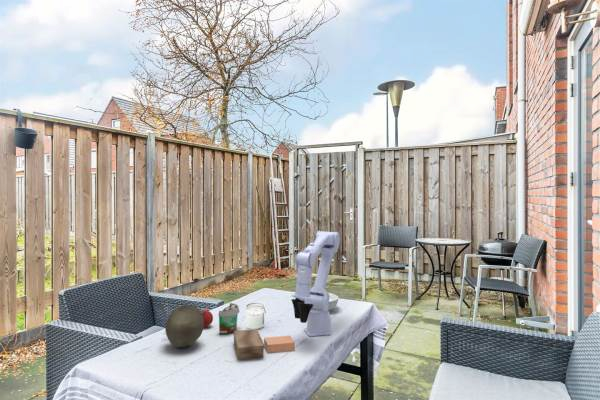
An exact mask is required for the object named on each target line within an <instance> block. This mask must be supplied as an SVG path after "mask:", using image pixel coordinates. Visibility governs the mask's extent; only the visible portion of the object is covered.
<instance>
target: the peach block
mask: <svg viewBox="0 0 600 400" xmlns="http://www.w3.org/2000/svg"><path fill="white" fill-rule="evenodd" d="M263 338H264V340H263V343H264V345H265V348H264V349H265V351H266V353H267V354H273V353H274V354H275V353H284V352H294V351H295V344H296V343H295V340H294V339H293V338H292V337H291V335H279V336H269V337H263Z"/></svg>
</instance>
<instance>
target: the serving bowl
mask: <svg viewBox="0 0 600 400" xmlns="http://www.w3.org/2000/svg"><path fill="white" fill-rule="evenodd" d="M328 293H329V296H330V298H329V307H328V310H327V311H329V312H330V311H331V310H333V309H334V308H336V306H337V304H338V301H339V296H338V295H337V294H334V293H331V292H328Z"/></svg>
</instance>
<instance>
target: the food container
mask: <svg viewBox="0 0 600 400" xmlns="http://www.w3.org/2000/svg"><path fill="white" fill-rule="evenodd" d="M239 313H240V308H239V305H238V304H236V303H233V302H232V303H231V302H230V303H229V305H228V306H227V307H225V308H223V309H222V310H219V311H218V326H219V328H218V329H219V330H218V331H219V332H218V333H219V335H220V336H227V335H232V334H234V331H237V327H238V326H237V325H238V315H239Z"/></svg>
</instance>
